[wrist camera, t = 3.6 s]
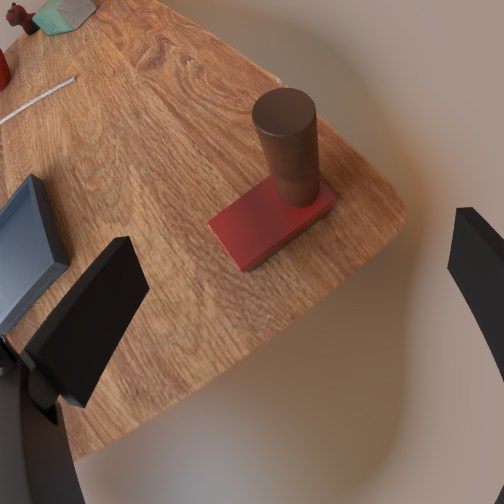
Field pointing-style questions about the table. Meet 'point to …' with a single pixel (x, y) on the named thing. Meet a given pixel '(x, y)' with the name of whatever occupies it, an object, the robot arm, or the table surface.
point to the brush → (37, 99)
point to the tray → (27, 251)
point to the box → (63, 15)
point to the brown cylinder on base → (277, 183)
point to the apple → (3, 71)
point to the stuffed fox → (21, 19)
